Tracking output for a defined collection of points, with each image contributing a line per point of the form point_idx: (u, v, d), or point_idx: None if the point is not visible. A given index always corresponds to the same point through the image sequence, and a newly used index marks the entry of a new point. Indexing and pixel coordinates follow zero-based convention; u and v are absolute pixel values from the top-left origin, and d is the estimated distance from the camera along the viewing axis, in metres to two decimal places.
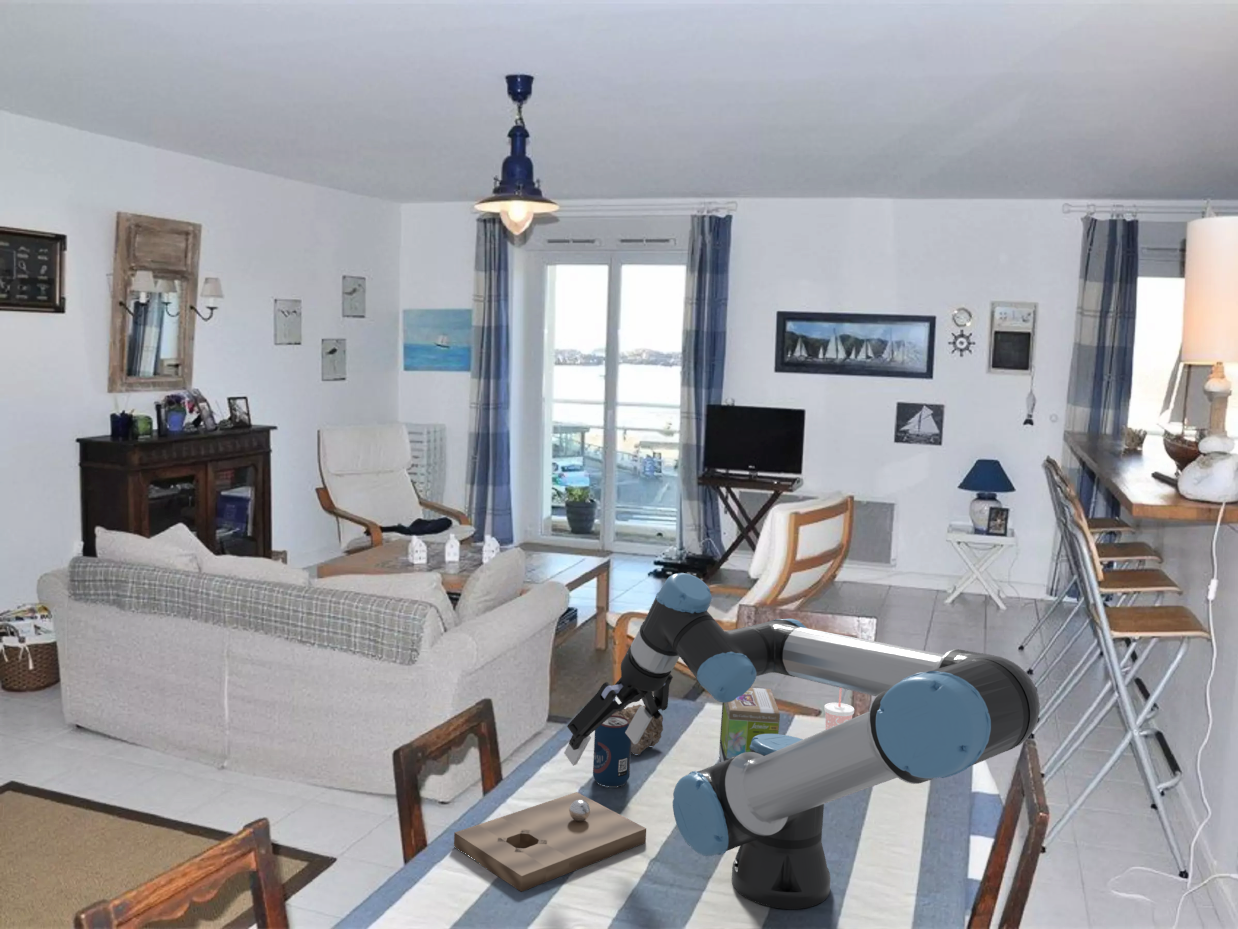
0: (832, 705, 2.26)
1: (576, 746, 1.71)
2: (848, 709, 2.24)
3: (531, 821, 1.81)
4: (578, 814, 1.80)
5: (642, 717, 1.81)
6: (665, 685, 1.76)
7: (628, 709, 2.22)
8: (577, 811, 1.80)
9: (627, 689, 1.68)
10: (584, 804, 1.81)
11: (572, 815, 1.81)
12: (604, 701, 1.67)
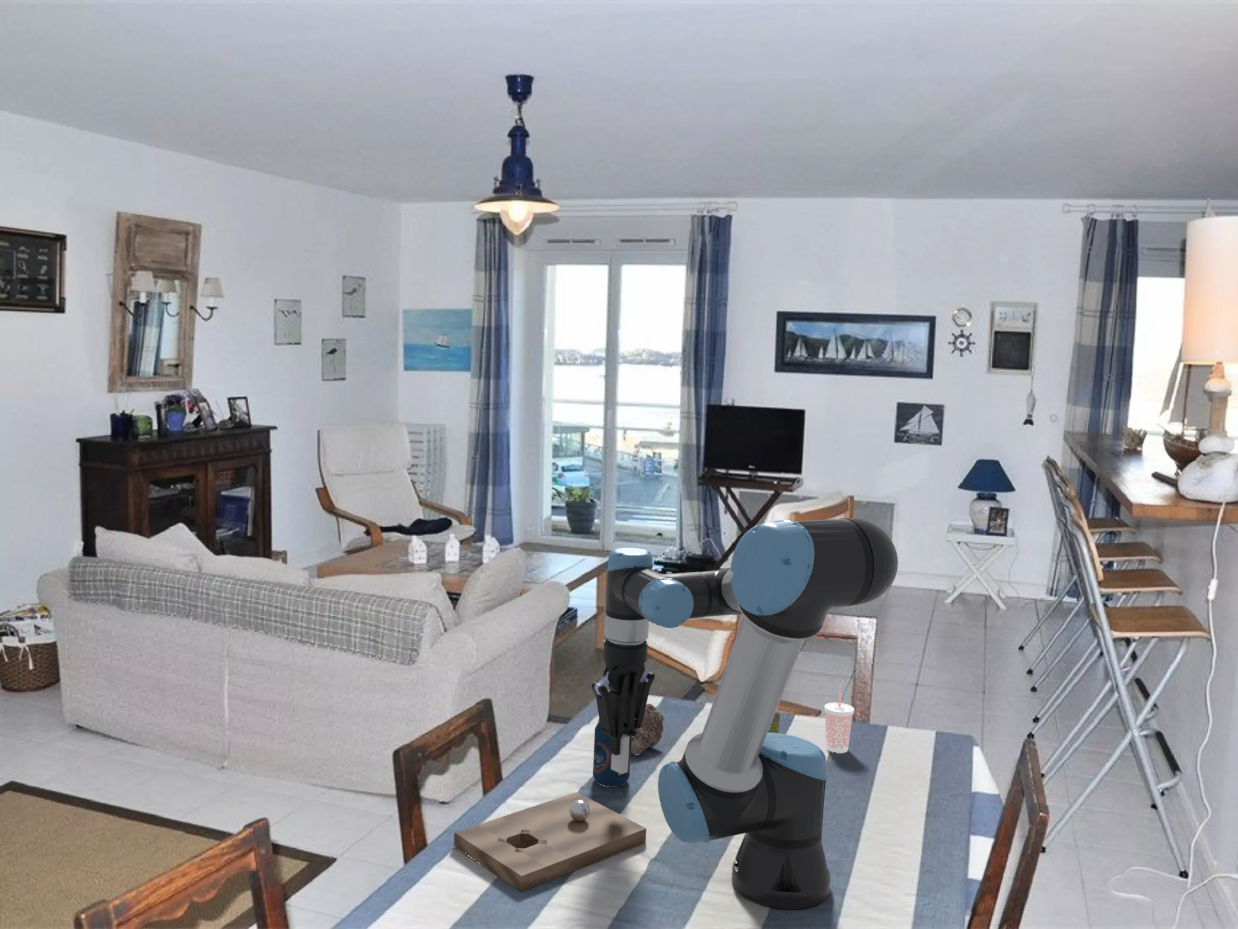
0: (832, 705, 2.26)
1: (616, 750, 1.86)
2: (848, 709, 2.24)
3: (531, 821, 1.81)
4: (578, 814, 1.80)
5: None
6: (647, 683, 1.88)
7: None
8: (577, 811, 1.80)
9: (612, 674, 1.82)
10: (584, 804, 1.81)
11: (572, 815, 1.81)
12: (602, 697, 1.82)
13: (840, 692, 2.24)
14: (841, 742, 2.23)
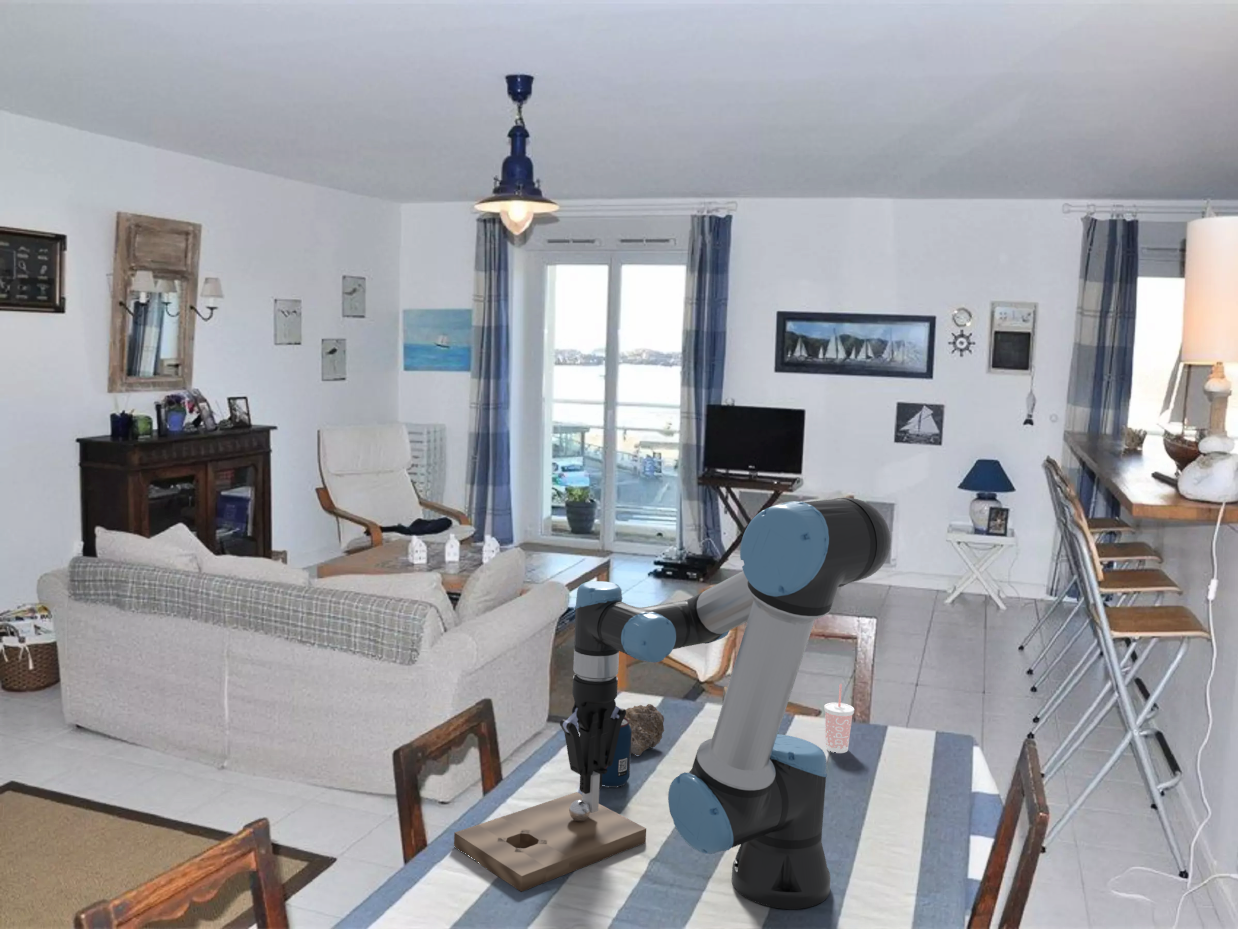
0: (832, 705, 2.26)
1: (586, 789, 1.82)
2: (848, 709, 2.24)
3: (531, 821, 1.81)
4: (578, 814, 1.80)
5: None
6: (618, 720, 1.84)
7: (629, 709, 2.22)
8: (577, 811, 1.80)
9: (580, 711, 1.78)
10: (584, 804, 1.81)
11: (572, 815, 1.81)
12: (571, 735, 1.78)
13: (840, 692, 2.24)
14: (841, 742, 2.23)
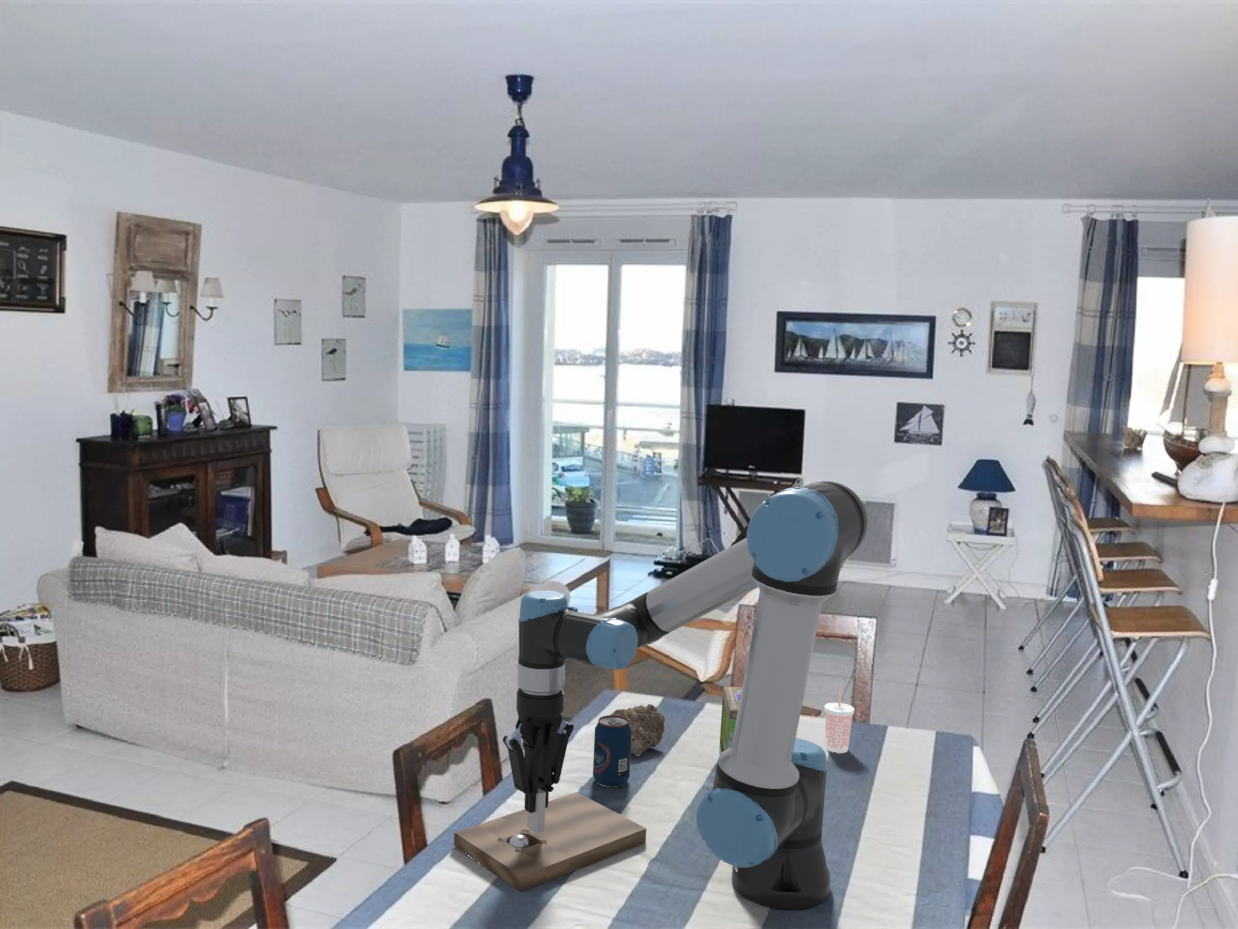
0: (832, 705, 2.26)
1: (531, 808, 1.74)
2: (848, 709, 2.24)
3: None
4: None
5: None
6: (565, 735, 1.76)
7: (629, 710, 2.22)
8: None
9: (524, 727, 1.70)
10: (516, 844, 1.72)
11: None
12: (514, 752, 1.70)
13: (840, 692, 2.24)
14: (841, 742, 2.23)
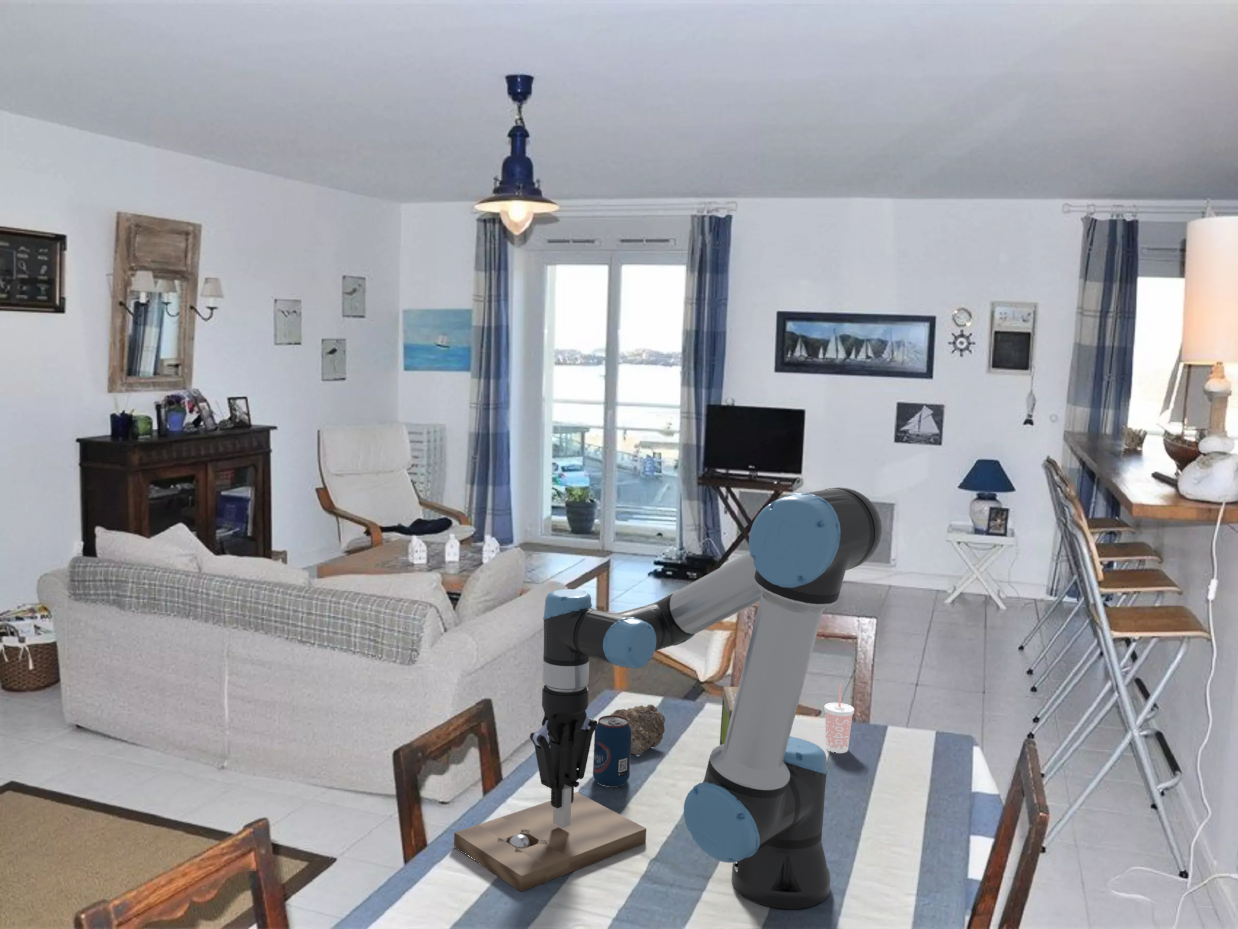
0: (832, 705, 2.26)
1: (558, 803, 1.77)
2: (848, 709, 2.24)
3: (531, 821, 1.81)
4: None
5: None
6: (589, 731, 1.80)
7: (630, 710, 2.22)
8: None
9: (551, 723, 1.73)
10: (517, 843, 1.73)
11: None
12: (541, 748, 1.73)
13: (840, 692, 2.24)
14: (841, 742, 2.23)
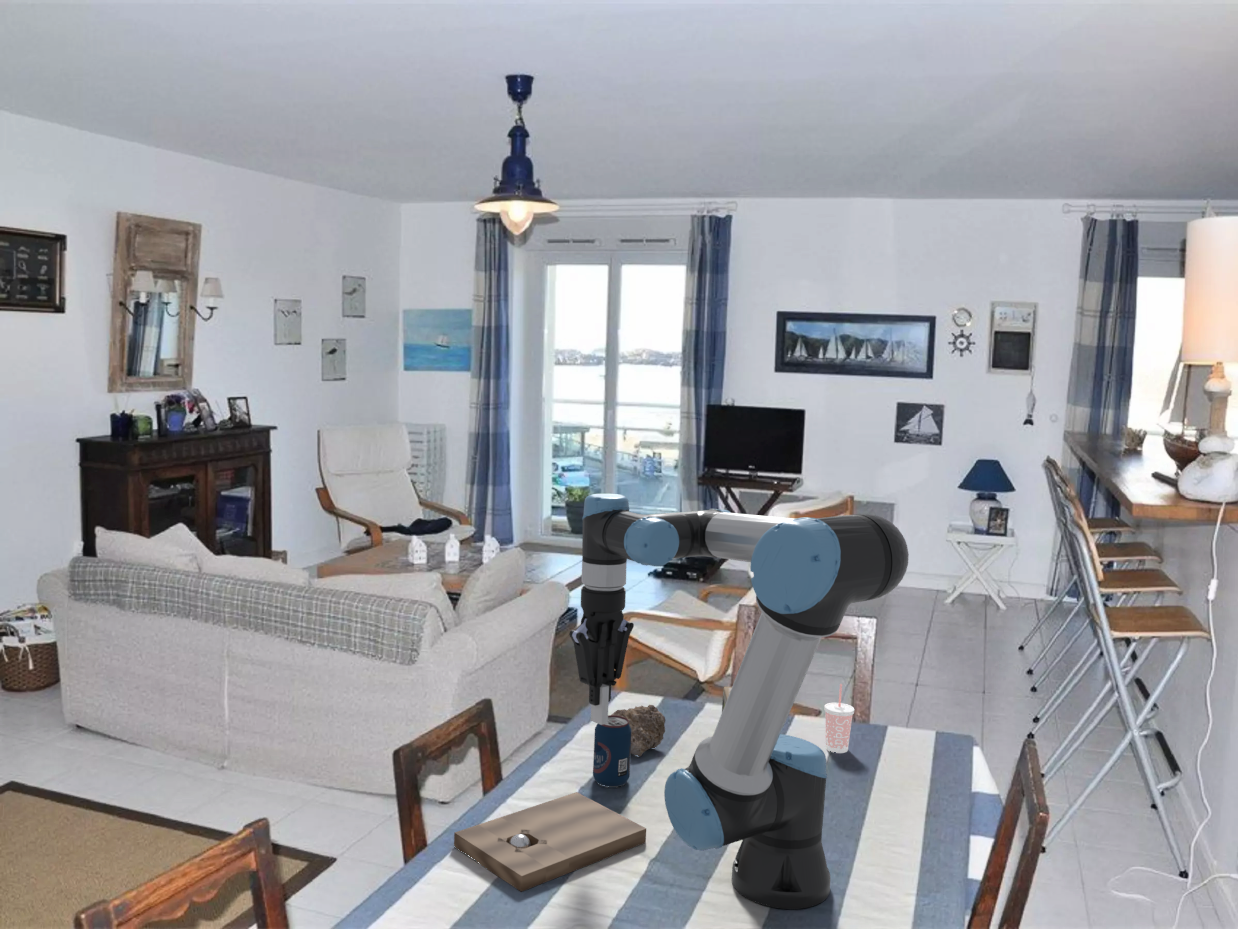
0: (832, 705, 2.26)
1: (596, 700, 1.82)
2: (848, 709, 2.24)
3: (531, 821, 1.81)
4: None
5: None
6: (626, 632, 1.85)
7: (630, 710, 2.22)
8: None
9: (590, 621, 1.79)
10: (517, 843, 1.73)
11: None
12: (581, 645, 1.79)
13: (840, 692, 2.24)
14: (841, 742, 2.23)
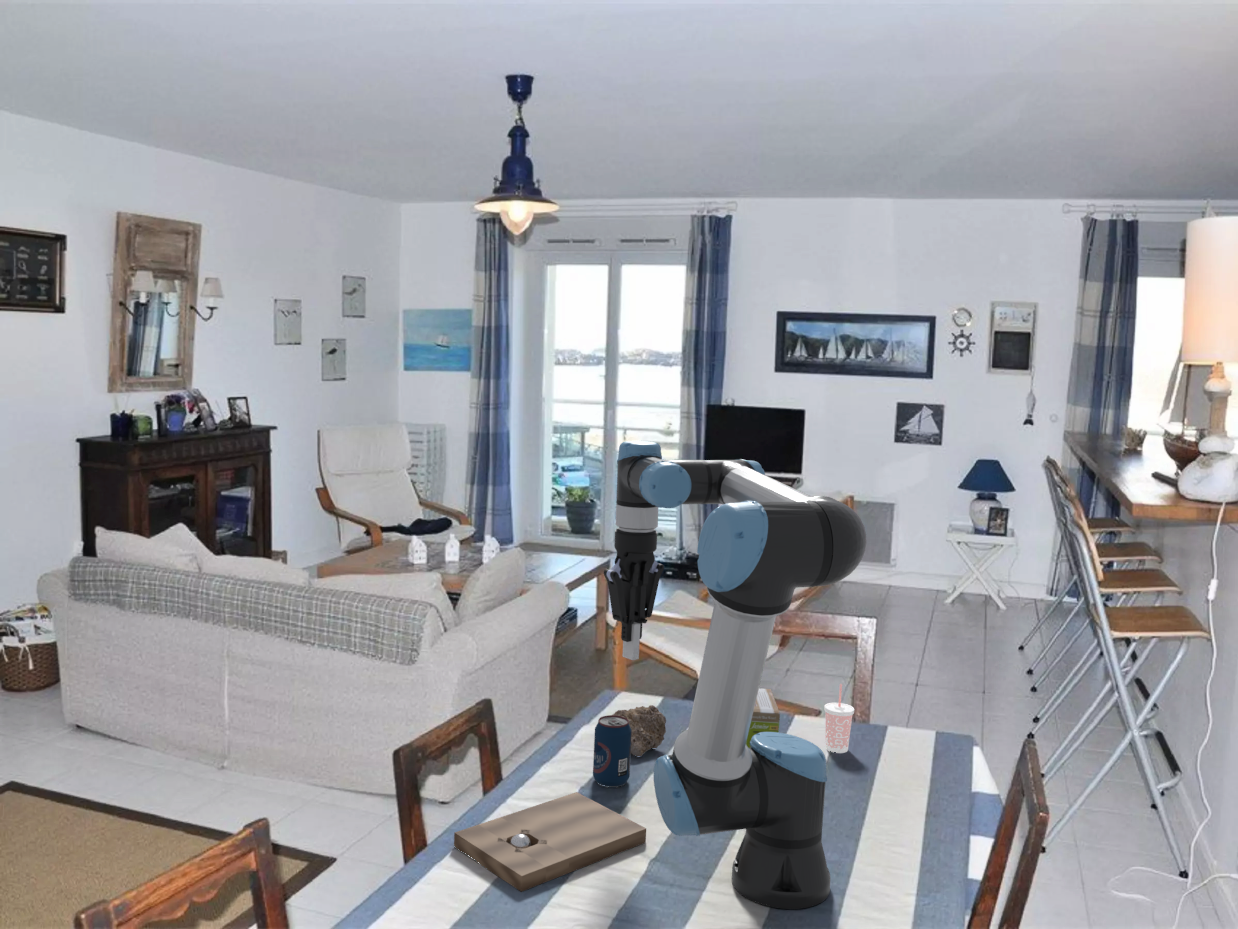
0: (832, 705, 2.26)
1: (628, 637, 1.92)
2: (848, 709, 2.24)
3: (531, 821, 1.81)
4: None
5: None
6: (657, 573, 1.95)
7: (631, 710, 2.21)
8: None
9: (623, 561, 1.89)
10: (518, 842, 1.73)
11: None
12: (614, 583, 1.89)
13: (840, 692, 2.24)
14: (841, 742, 2.23)
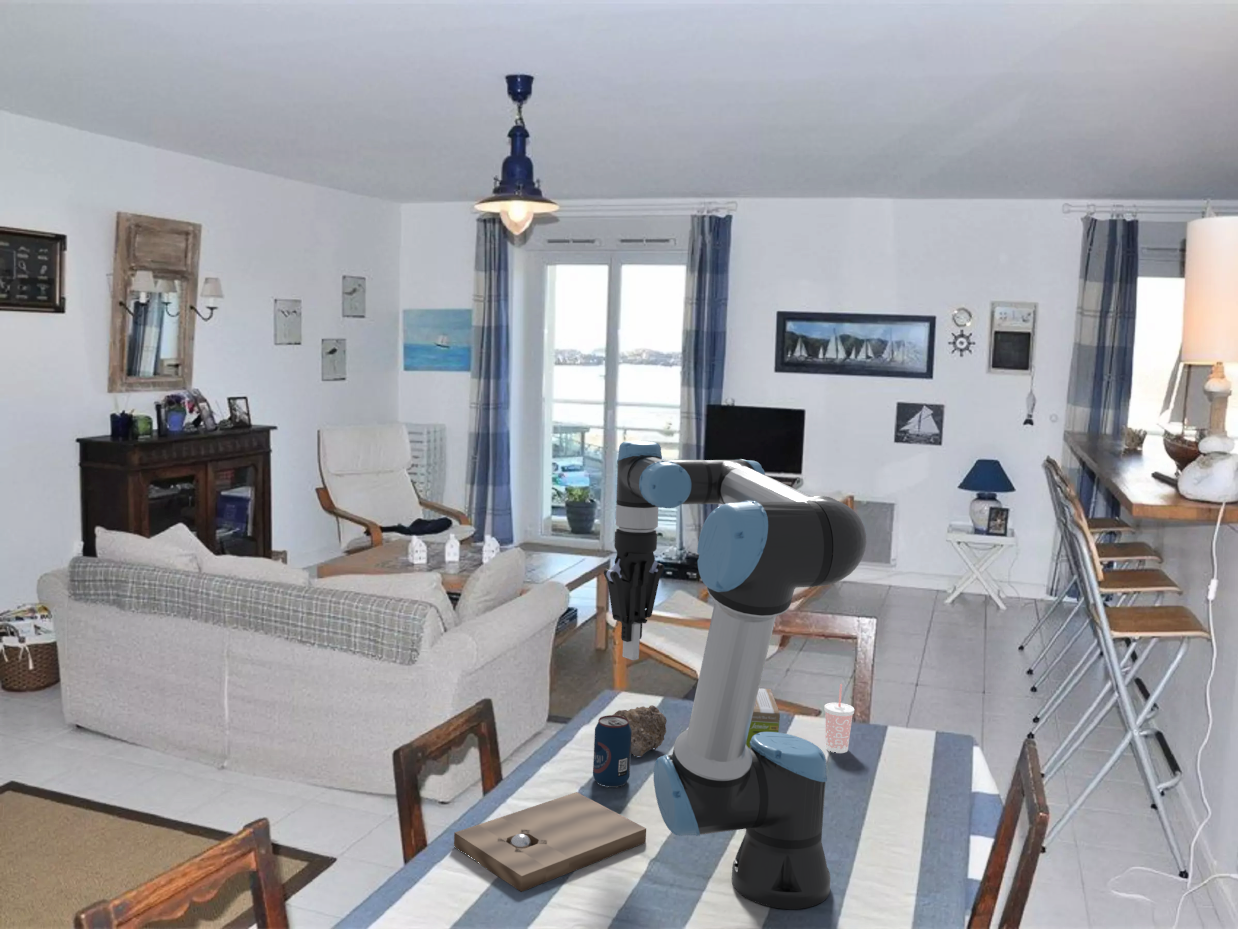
0: (832, 705, 2.26)
1: (628, 637, 1.92)
2: (848, 709, 2.24)
3: (531, 821, 1.81)
4: None
5: None
6: (657, 573, 1.95)
7: (631, 711, 2.21)
8: None
9: (623, 561, 1.89)
10: (519, 842, 1.73)
11: None
12: (614, 583, 1.89)
13: (840, 692, 2.24)
14: (841, 742, 2.23)
